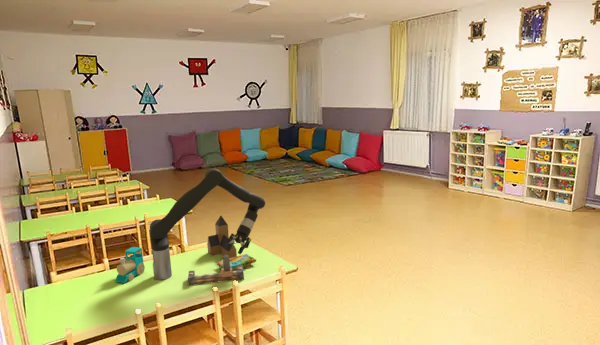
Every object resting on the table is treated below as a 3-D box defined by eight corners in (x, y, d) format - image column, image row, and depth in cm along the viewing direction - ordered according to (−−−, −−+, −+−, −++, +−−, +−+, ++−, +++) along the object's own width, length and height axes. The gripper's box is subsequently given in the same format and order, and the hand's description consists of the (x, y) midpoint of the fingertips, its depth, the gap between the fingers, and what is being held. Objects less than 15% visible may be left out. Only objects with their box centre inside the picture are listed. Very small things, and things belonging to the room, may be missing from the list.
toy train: (114, 282, 228) (110, 257, 225) (134, 270, 243) (131, 246, 240) (125, 284, 226) (122, 259, 223) (145, 271, 241) (142, 248, 238)
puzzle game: (217, 260, 243) (246, 252, 254) (217, 268, 244) (246, 259, 255) (225, 267, 233) (256, 258, 245) (226, 274, 234) (256, 265, 246)
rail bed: (188, 285, 222) (187, 277, 221) (189, 278, 230) (188, 270, 230) (243, 279, 227) (243, 271, 226) (242, 272, 236) (242, 264, 235)
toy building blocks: (226, 248, 273) (223, 213, 268) (236, 258, 257) (234, 220, 252) (208, 253, 266) (205, 216, 261) (217, 262, 251) (215, 224, 246)
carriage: (221, 277, 226) (220, 258, 224) (221, 273, 232) (220, 254, 230) (232, 276, 228) (231, 257, 225) (232, 272, 233) (231, 253, 231)
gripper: (233, 222, 241) (220, 247, 234) (251, 226, 233) (239, 251, 226) (239, 228, 246) (227, 252, 239) (258, 232, 239) (246, 257, 231)
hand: (233, 252), depth 233 cm, fingers open, 8 cm apart
